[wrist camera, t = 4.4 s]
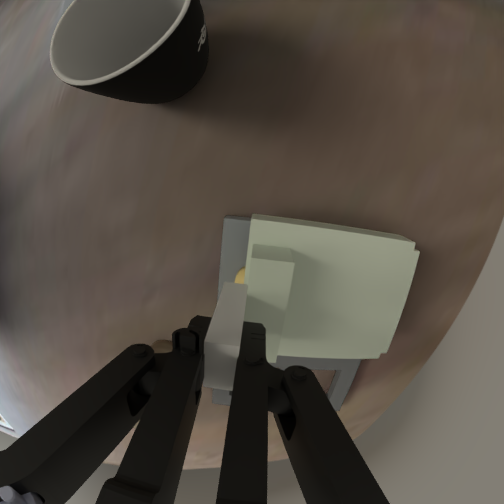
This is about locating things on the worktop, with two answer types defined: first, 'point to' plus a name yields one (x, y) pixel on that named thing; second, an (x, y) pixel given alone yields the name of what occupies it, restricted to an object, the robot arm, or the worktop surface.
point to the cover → (326, 287)
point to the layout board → (233, 250)
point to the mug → (131, 48)
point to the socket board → (342, 366)
